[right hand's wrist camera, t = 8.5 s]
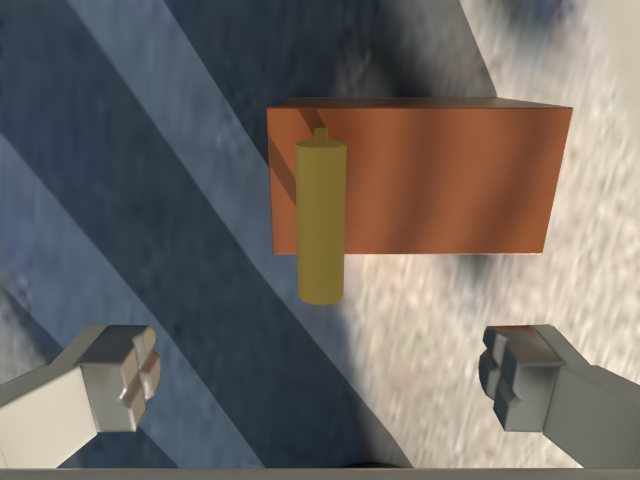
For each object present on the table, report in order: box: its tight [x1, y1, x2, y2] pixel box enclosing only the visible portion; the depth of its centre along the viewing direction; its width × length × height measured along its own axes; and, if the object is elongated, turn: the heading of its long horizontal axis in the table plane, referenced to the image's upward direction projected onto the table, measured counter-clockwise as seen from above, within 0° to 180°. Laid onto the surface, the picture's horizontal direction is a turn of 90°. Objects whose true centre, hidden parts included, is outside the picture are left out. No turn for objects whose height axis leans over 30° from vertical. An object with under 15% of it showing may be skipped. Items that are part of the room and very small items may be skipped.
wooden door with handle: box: [266, 106, 573, 305], centre depth 22 cm, size 18×9×9 cm, turn 90°
